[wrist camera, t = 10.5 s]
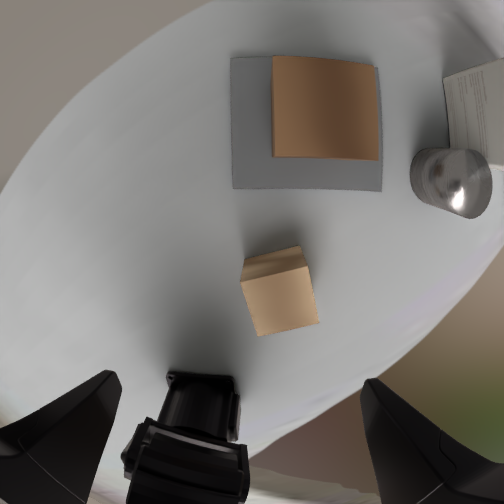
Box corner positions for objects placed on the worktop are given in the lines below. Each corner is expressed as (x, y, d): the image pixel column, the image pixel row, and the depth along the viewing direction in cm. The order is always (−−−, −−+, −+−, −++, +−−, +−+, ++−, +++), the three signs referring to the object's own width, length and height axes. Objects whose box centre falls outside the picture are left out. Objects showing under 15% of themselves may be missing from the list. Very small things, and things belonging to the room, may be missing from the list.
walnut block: (271, 157, 17) (275, 155, 12) (270, 83, 15) (272, 55, 10) (348, 160, 16) (378, 160, 12) (346, 88, 15) (373, 65, 10)
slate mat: (234, 187, 18) (232, 189, 17) (231, 62, 15) (230, 58, 14) (377, 190, 18) (381, 191, 17) (373, 70, 15) (377, 67, 14)
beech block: (259, 306, 21) (257, 336, 17) (244, 258, 20) (240, 282, 16) (310, 294, 20) (319, 322, 17) (299, 245, 19) (307, 266, 15)
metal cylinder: (408, 202, 18) (445, 216, 13) (410, 144, 16) (449, 143, 12) (450, 206, 18) (489, 220, 13) (452, 152, 16) (493, 155, 11)
